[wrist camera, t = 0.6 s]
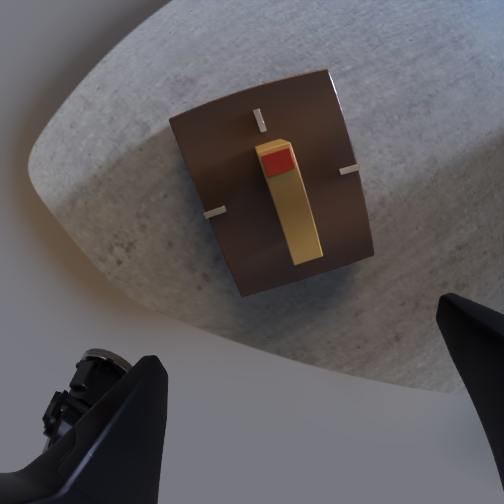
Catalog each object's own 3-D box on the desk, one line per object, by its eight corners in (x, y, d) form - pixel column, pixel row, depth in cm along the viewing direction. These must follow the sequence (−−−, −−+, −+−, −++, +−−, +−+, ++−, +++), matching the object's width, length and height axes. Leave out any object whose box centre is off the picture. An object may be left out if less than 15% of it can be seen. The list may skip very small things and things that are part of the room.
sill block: (361, 238, 22) (376, 256, 19) (241, 277, 23) (240, 299, 20) (318, 75, 16) (330, 67, 13) (178, 120, 18) (165, 119, 15)
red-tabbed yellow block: (308, 229, 18) (324, 258, 14) (284, 236, 18) (294, 268, 14) (280, 138, 16) (291, 142, 12) (254, 146, 16) (256, 153, 12)
